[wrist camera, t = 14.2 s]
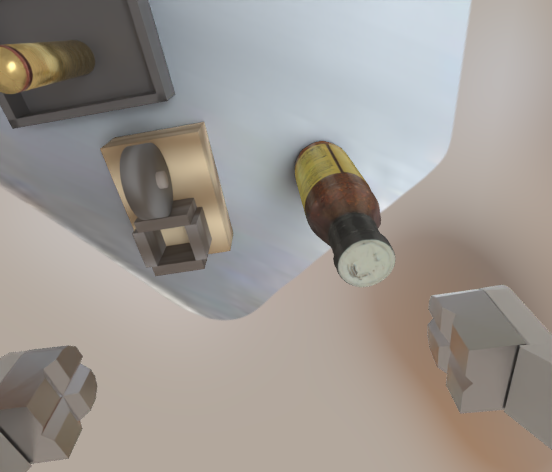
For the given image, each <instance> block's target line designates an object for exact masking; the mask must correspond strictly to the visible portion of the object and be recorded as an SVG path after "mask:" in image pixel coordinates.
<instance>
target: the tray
mask: <svg viewBox="0 0 552 472" xmlns="http://www.w3.org/2000/svg"><path fill="white" fill-rule="evenodd" d="M69 40H78V41H81V42H83V43H85V44H86V45H87V46H88V47H89V48H90V49H91V51H92V52H93V54H94V57H95V66H94V69H93V70H92V71H91V72H90V73H89V74H86V75H83V76H79V77H75V78H72V79H68V80H64V81H60V82H57V83H53V84H49V85H45V86H42V87H38V88H34V89H30V90H27V91H23V92H19V93H15V94H5V93H1V92H0V105H1V107H2V109H3V111H4V113H5V115H6V117H7V119H8V121H9V123H10V124H11V126H12V128H13V129H14V128H19V127H25V126H30V125H36V124H41V123H47V122H52V121H58V120H63V119H69V118H75V117H80V116H86V115H91V114H97V113H102V112H108V111H113V110H119V109H125V108H130V107H136V106H141V105H147V104H152V103H158V102H163V101H168V100H169V99H170V98H171V97H173V96H174V95H175V92H174V88H173V85H172V81H171V78H170V74H169V71H168V67H167V64H166V61H165V57H164V54H163V50H162V47H161V43H160V40H159V36H158V33H157V29H156V26H155V22H154V19H153V15H152V12H151V9H150V5H149V2H148V0H0V45H5V44H21V43H37V42H53V41H69Z"/></svg>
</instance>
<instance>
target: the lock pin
mask: <svg viewBox="0 0 552 472" xmlns="http://www.w3.org/2000/svg"><path fill="white" fill-rule="evenodd" d="M94 66H95V57H94V54H93V52H92V51H91V49H90V48H89V47H88V46H87V45H86V44H85V43H83V42H81V41H78V40H69V41H53V42H37V43H21V44H5V45H0V92H1V93H5V94H15V93H19V92H23V91H27V90H30V89H34V88H38V87H42V86H45V85H49V84H53V83H57V82H60V81H64V80H68V79H72V78H75V77H79V76H83V75H86V74H89V73H90V72H91V71H92V70H93V69H94Z"/></svg>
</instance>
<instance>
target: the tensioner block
mask: <svg viewBox="0 0 552 472" xmlns="http://www.w3.org/2000/svg"><path fill="white" fill-rule="evenodd" d="M100 150H101V152H102V154H103V157H104V159H105V162H106V164H107V166H108V169H109V171H110V174H111V176H112V178H113V181H114V183H115V186H116V188H117V190H118V193H119V195H120V198H121V200H122V202H123V205H124V207H125V210H126V212H127V214H128V217H129V219H130V222H131V224H132V226H133V229H134V232H133V234H132V235H133V237H134V239H135V242H136V244H137V247H138V249H139V251H140V254H141V256H142V258H143V261H144V263H145V266H146V268H149V267H152V268H153V271H154V273H155V276H159V275H166V274H173V273H179V272H186V271H193V270H200V269H204V268H205V265H206V261H207V257H208V254H212V253H219V252H226V251H230V250H231V244H232V238H233V231H232V227H231V223H230V219H229V216H228V212H227V208H226V204H225V200H224V196H223V192H222V189H221V185H220V181H219V177H218V173H217V169H216V166H215V162H214V158H213V154H212V150H211V146H210V142H209V139H208V135H207V131H206V127H205V123H204V122H201V123H195V124H189V125H184V126H178V127H172V128H167V129H161V130H155V131H149V132H144V133H138V134H132V135H127V136H121V137H115V138H113V139H112V140H111V141H110V142H108V143H107V144H106V145H104V146H103V147H102V148H100Z"/></svg>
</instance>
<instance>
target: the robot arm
mask: <svg viewBox="0 0 552 472" xmlns="http://www.w3.org/2000/svg"><path fill="white" fill-rule="evenodd" d="M429 311H430V313H431V315H432V317H433V319H432V320H431V322H430V323H429V324H428V341H429V347H430V350H431V353H432V356H433V359H434V361H435V363H436V365H437V367H438V368H439V369H441V370H442V371H444V372H445V373H447V381H446V386H447V388H448V390H449V392H450V394H451V396H452V398H453V400H454V402H455V404H456V406H457V408H458V410H459V412H460V413H471V412H483V411H493V410H504V412H505V413H506V414H508V415H509V416H510V417H511V418H513V419H514V420H515V421H516V422H518V423H519V424H520V425H521V426H523V427H524V428H525V429H526V430H528V431H529V432H530V433H532V434H533V435H534V436H535V437H536V438H538V439H539V440H540V441H542V442H543V443H544V444H545V445H547V446H548V447H549V448H550V449H551V450H552V334H551V332H550V331H549V330H548V329H547V328H546V327H545V326H544V325H543V324H542V323H541V322H540V320H539V319H538V318H536V316H535V315H534V314H533V313H532V312H531V311H530V310H529V308H528V307H527V306H526V305H525V304H524V303H523V302H522V301H521V300H520V299H519V298H518V296H517V295H516V294H515V293H514V292H513V291H512V290H511V289H510V288H509V287H507V286H505V285H498V286H492V287H486V288H480V289H474V290H467V291H460V292H453V293H446V294H439V295H433V296H431V298H430V300H429ZM82 357H83V356H82V354H81V353H80V352H79V350H78V349H77V347H75V346H61V347H52V348H43V349H34V350H29V351H21V352H11V353H8V354H6V355H4V356H3V357H1V358H0V472H27V471H28V470H29V468H30V467H31V464H34V463H41V462H48V461H55V460H62V459H68V458H69V456H70V454H71V452H72V450H73V448H74V446H75V444H76V442H77V439H78V437H79V435H80V433H81V431H82V425H81V422H80V420H81V419H82V418H83V417H84V416H85V415H86V414H87V413H88V412H89V411H91V408H92V406H93V404H94V402H95V399H96V392H97V382H96V378H95V375H94V374H93V372H92V370H91V369H89V368H88V367H86V366H84V365H82V364H81V360H82Z"/></svg>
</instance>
